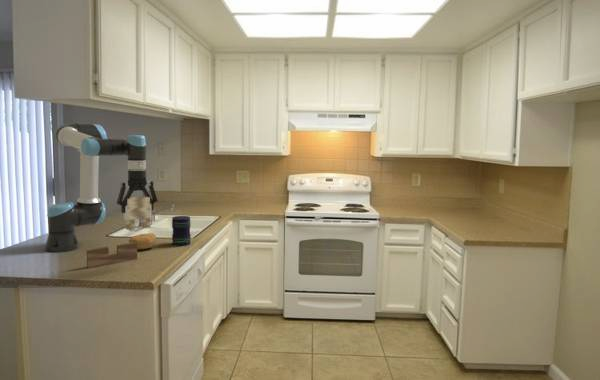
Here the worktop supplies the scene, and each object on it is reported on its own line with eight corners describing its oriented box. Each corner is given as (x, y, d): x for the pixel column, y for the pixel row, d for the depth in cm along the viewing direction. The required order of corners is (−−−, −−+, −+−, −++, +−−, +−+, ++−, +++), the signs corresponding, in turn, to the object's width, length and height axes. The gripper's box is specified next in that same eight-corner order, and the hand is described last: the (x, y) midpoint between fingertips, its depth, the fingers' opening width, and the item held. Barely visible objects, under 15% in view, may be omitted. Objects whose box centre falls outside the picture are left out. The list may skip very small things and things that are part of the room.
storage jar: (193, 242, 231) (193, 216, 229) (186, 246, 221) (186, 219, 219) (176, 241, 232) (176, 215, 230) (169, 245, 222) (168, 218, 220)
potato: (126, 249, 213) (125, 234, 212) (153, 245, 222) (152, 231, 221) (132, 253, 206) (132, 237, 205) (159, 249, 215) (159, 234, 214)
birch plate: (128, 229, 181) (127, 198, 179) (125, 228, 183) (125, 197, 182) (150, 227, 188) (149, 197, 186) (147, 226, 190) (147, 196, 188)
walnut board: (87, 267, 182) (86, 249, 181) (135, 258, 198) (135, 241, 197) (88, 268, 180) (88, 250, 180) (137, 258, 196) (136, 242, 195)
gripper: (113, 171, 172) (114, 222, 175) (164, 169, 187) (165, 217, 190) (107, 169, 178) (109, 220, 180) (158, 168, 193) (158, 215, 195)
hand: (137, 218), depth 185 cm, fingers closed on birch plate, 10 cm apart
